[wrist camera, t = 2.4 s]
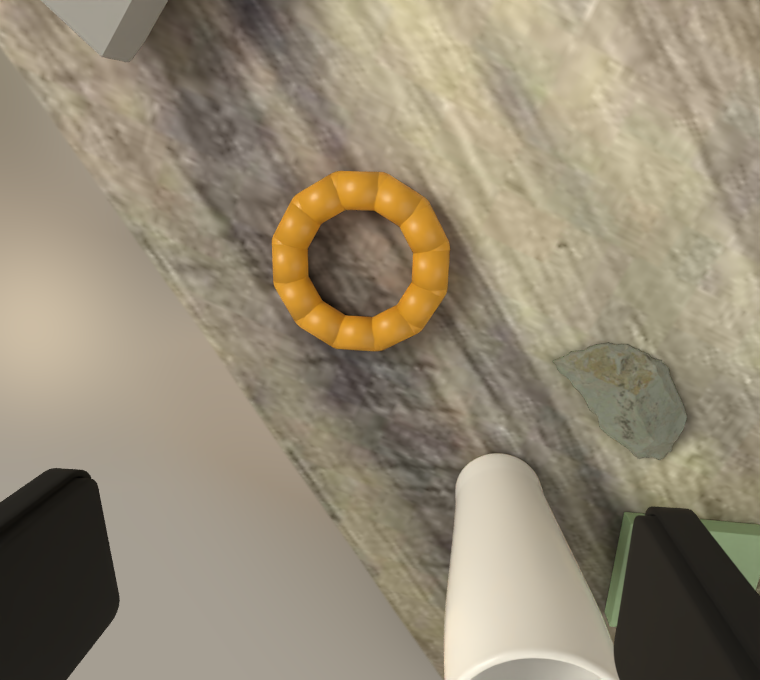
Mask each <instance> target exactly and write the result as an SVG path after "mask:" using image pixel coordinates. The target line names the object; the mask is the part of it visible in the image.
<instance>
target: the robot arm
mask: <svg viewBox="0 0 760 680" xmlns="http://www.w3.org/2000/svg"><path fill="white" fill-rule="evenodd" d="M119 601H120V600H119V592H118V587H117V582H116V577H115V572H114V567H113V561H112V556H111V551H110V546H109V541H108V536H107V531H106V525H105V520H104V515H103V510H102V505H101V500H100V494H99V489H98V485H97V483H96V482H95V481H94V480H93V479H91V476H90V475H89V474H88V473H87V472H86V471H84V470H76V469H61V468H53V469H49V470H47V471H45V472H43V473H42V474H41V475H39V476H38V477H36V478H35V479H33V480H32V481H31V482H29V483H28V484H26V485H25V486H23V487H22V488H20V489H19V490H18V491H16V492H15V493H13V494H12V495H10V496H9V497H7V498H6V499H5V500H3V501H2V502H0V680H67V678H68V677H69V676H70V674H71V673H72V672H73V671H74V669H75V668H76V667H77V665H78V664H79V663H80V662H81V660H82V659H83V658H84V657H85V655H86V654H87V652H88V651H89V650H90V649H91V648H92V646H93V645H94V644H95V642H96V641H97V640H98V639H99V637H100V636H101V635H102V633H103V632H104V631H105V629H106V628H107V627H108V626H109V624H110V623H111V622H112V620H113V619H114V617H115V615H116V613H117V610H118V607H119ZM614 662H615V667H616V671H617V674H618V677H619V680H760V596H759V594H758V593H757V592H756V591H755V589H754V588H753V587H752V585H751V584H750V583H749V582H748V580H747V579H746V578H745V577H744V575H743V574H742V573H741V571H740V570H739V569H738V568H737V566H736V565H735V564H734V563H733V561H732V560H731V559H730V557H729V556H728V555H727V554H726V552H725V551H724V550H723V549H722V547H721V546H720V545H719V543H718V542H717V541H716V540H715V538H714V537H713V536H712V535H711V533H710V532H709V531H708V529H707V528H706V527H705V526H704V524H703V523H702V522H701V521H700V519H699V518H698V517H697V515H696V514H695V513H694V512H693V511H692V510H689V509H682V508H666V507H649V508H648V509H647V511H646V513H645V516H644V515H638V516H636V517H635V519H634V522H633V528H632V534H631V540H630V547H629V553H628V559H627V565H626V572H625V578H624V584H623V590H622V597H621V603H620V609H619V616H618V622H617V628H616V634H615V641H614Z"/></svg>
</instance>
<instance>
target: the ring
mask: <svg viewBox="0 0 760 680" xmlns="http://www.w3.org/2000/svg"><path fill="white" fill-rule="evenodd" d="M344 210H370V211H376V212H377V213H379V214H381V215H382V216H384V217H385V218H387V219H388V220H390V221H391V222H393V223H395V224H396V225H398V226H399V227H400V229H401V231H402V232H403V234H404V236H405V238H406V240H407V242H408V244H409V246H410V248H411V250H412V252H413V268H412V282H411V284H410V285H409V287H408V289H407V290H406V292H405V293H404V295H403V296H402V298H401V299H400V301H399V303H398V304H397V305H396V306H394V307H392V308H390V309H388V310H386V311H384V312H382V313H380V314H378V315H376V316H374V317H365V316H347V315H344V314H343V313H341V312H340V311H338V310H336V309H335V308H333V307H332V306H330V305H328V304H327V303H325V302H324V301H322V299H321V298H320V296H319V294H318V292H317V291H316V289H315V287H314V285H313V283H312V282H311V280H310V278H309V276H308V247H309V245H310V243H311V242H312V240H313V238H314V236H315V234H316V232H317V231H318V229H319V227H320V225H321V224H322V223H323V222H325V221H327V220H329V219H330V218H332V217H334V216H336V215H337V214H339V213H341V212H343V211H344ZM449 256H450V244H449V241H448V239H447V237H446V235H445V233H444V231H443V229H442V227H441V225H440V223H439V221H438V219H437V217H436V215H435V213H434V211H433V209H432V207H431V205H430V203H429V201H428V200H427V199H426V198H425V197H423V196H422V195H420V194H419V193H417V192H416V191H414V190H412V189H411V188H409V187H408V186H406V185H405V184H403V183H402V182H400V181H398V180H397V179H395V178H394V177H392V176H391V175H389V174H387V173H384V172H358V171H337V172H334V173H332V174H330V175H328V176H326V177H325V178H323V179H321V180H320V181H318V182H316V183H315V184H313V185H311V186H310V187H308V188H306V189H305V190H303V191H301V192H300V193H298V194H297V195H295V196H294V198H293V199H292V201H291V203H290V204H289V206H288V208H287V210H286V212H285V214H284V216H283V218H282V220H281V222H280V224H279V226H278V227H277V229H276V231H275V233H274V235H273V238H272V257H273V282H274V286H275V288H276V290H277V292H278V294H279V295H280V297H281V299H282V300H283V302H284V304H285V306H286V307H287V309H288V311H289V312H290V314H291V316H292V318H293V319H294V321H295V322H296V324H297V325H298V326H300V327H301V328H303V329H304V330H306V331H307V332H309V333H311V334H312V335H314V336H315V337H317V338H319V339H320V340H322V341H323V342H325V343H327V344H328V345H330V346H332V347H333V348H336V349H347V350H363V351H382V350H384V349H386V348H388V347H391V346H393V345H395V344H397V343H399V342H401V341H403V340H405V339H407V338H409V337H411V336H413V335H415V334H417V333H419V332H420V331H421V330H422V329H423V328H424V326H425V325H426V324H427V322H428V321H429V319H430V318H431V316H432V315H433V313H434V312H435V310H436V309H437V307H438V306H439V304H440V303H441V301H442V300H443V298H444V297H445V295H446V292H447V287H448V272H449Z"/></svg>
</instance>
